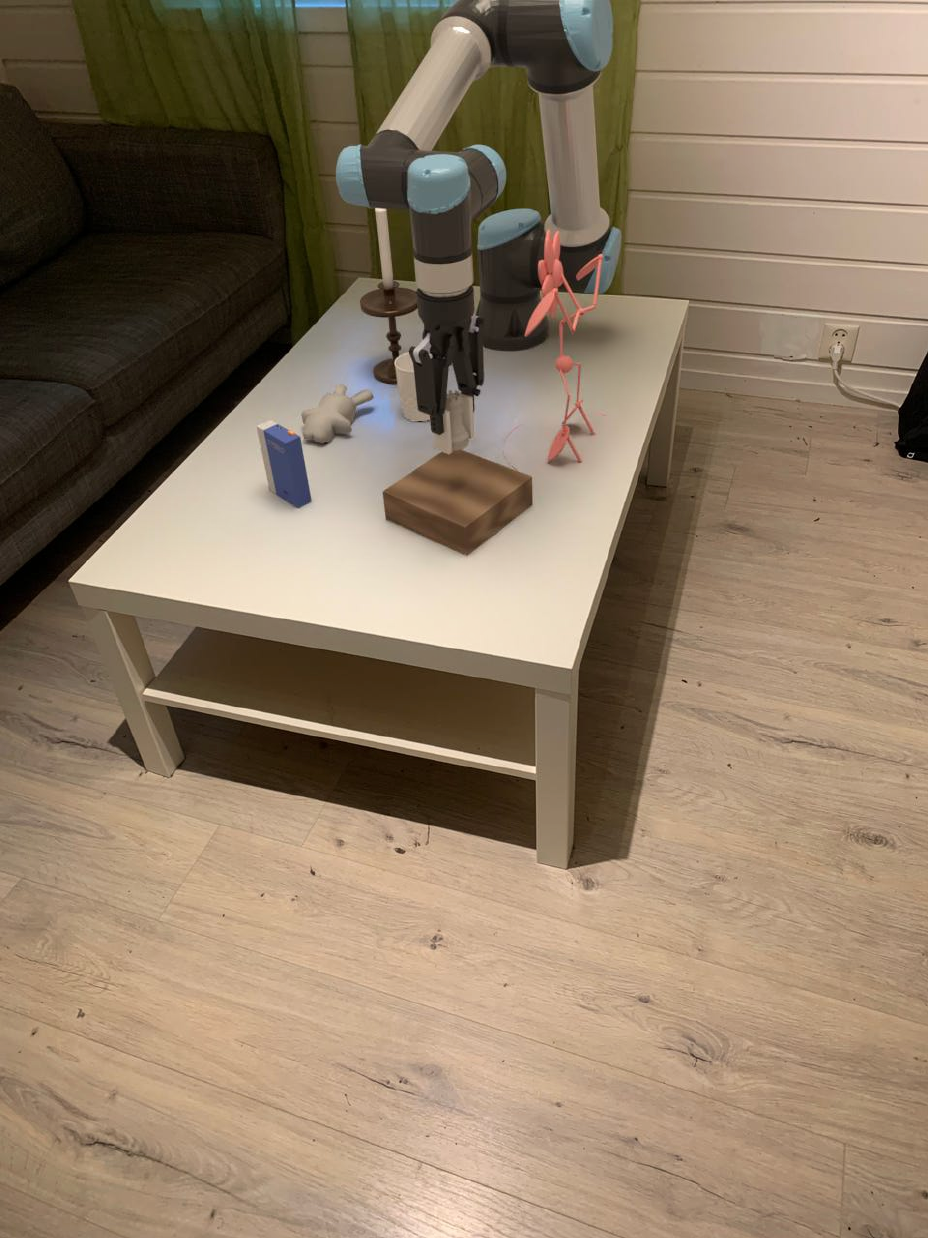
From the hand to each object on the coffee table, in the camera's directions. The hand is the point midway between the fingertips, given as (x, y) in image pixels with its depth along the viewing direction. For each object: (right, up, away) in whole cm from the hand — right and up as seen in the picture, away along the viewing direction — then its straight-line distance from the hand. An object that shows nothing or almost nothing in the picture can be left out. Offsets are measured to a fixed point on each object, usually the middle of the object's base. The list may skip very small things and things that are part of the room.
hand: (454, 442), depth 146 cm
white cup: (-6, +11, +32) cm, 34 cm away
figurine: (+15, +4, +22) cm, 27 cm away
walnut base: (+1, -9, +8) cm, 12 cm away
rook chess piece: (0, 0, 0) cm, 0 cm away
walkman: (-26, -6, +14) cm, 30 cm away
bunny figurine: (-21, +8, +31) cm, 38 cm away
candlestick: (-11, +21, +44) cm, 50 cm away
